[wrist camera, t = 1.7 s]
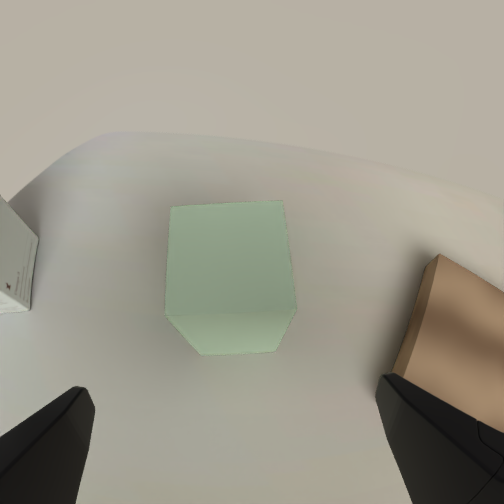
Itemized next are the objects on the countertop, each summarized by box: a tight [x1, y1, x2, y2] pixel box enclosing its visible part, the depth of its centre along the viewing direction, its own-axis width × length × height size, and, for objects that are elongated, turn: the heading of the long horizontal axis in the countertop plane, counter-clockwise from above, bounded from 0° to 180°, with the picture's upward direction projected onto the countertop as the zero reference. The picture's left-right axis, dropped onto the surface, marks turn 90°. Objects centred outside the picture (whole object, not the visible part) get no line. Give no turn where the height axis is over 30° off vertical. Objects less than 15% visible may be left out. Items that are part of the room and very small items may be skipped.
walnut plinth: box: [392, 254, 504, 433], centre depth 19 cm, size 12×12×2 cm
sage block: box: [165, 200, 297, 356], centre depth 17 cm, size 5×5×10 cm
